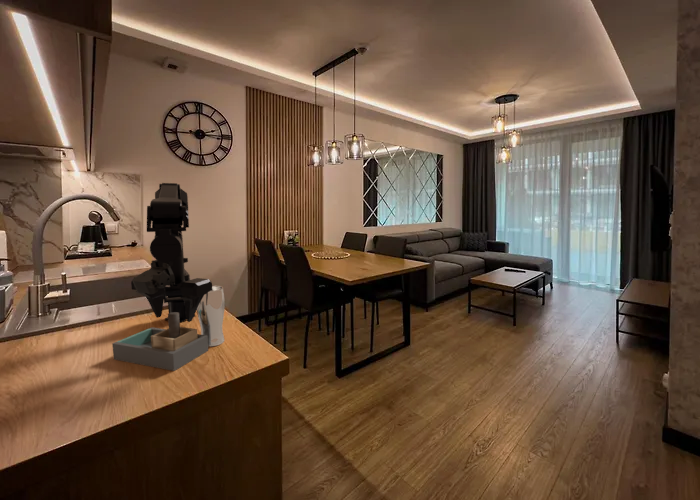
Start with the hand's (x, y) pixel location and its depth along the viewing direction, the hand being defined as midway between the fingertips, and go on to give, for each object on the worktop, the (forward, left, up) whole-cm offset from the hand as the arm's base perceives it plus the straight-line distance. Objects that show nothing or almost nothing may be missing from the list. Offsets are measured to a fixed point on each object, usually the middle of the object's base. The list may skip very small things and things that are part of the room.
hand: (174, 319), depth 80 cm
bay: (-4, 0, -10) cm, 10 cm away
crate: (0, 0, -8) cm, 8 cm away
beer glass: (+2, +10, -10) cm, 14 cm away
